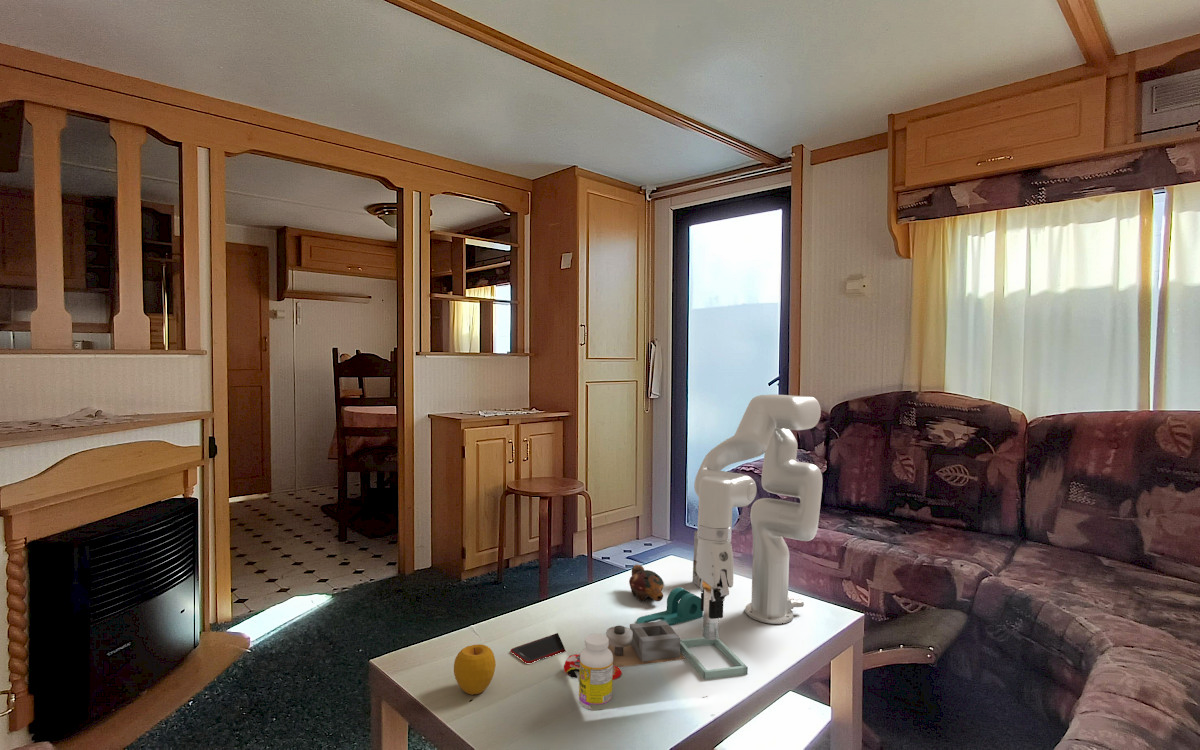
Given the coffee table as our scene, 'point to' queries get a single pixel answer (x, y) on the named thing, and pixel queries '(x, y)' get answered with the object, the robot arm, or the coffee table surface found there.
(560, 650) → the cell phone
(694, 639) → the tray
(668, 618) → the bracket
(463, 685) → the apple
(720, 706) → the coffee table surface
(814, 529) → the robot arm
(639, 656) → the square socket fixture board
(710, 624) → the pin
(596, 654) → the supplement bottle
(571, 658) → the race car
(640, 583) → the green brown ocarina
